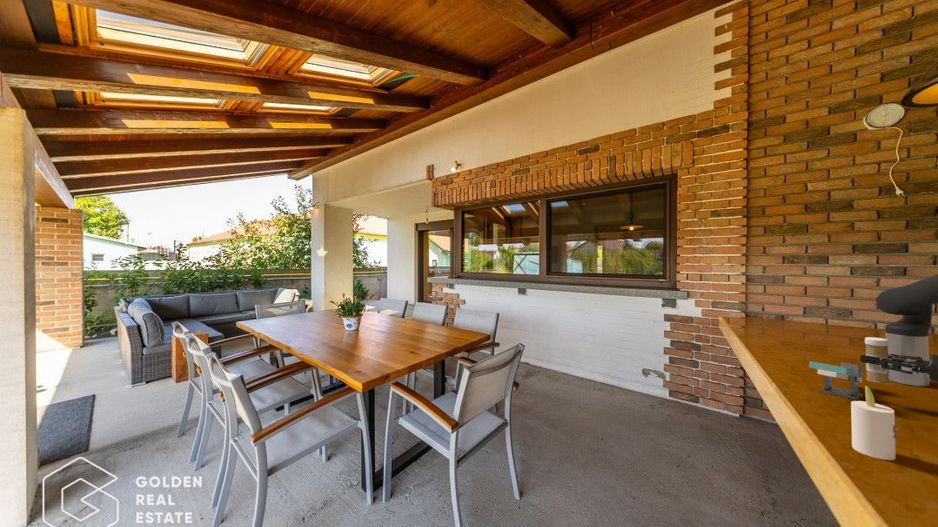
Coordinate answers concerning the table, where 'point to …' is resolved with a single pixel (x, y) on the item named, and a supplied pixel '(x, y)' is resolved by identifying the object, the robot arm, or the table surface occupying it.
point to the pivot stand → (841, 392)
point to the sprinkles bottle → (877, 349)
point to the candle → (873, 428)
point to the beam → (838, 370)
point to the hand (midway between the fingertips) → (863, 357)
